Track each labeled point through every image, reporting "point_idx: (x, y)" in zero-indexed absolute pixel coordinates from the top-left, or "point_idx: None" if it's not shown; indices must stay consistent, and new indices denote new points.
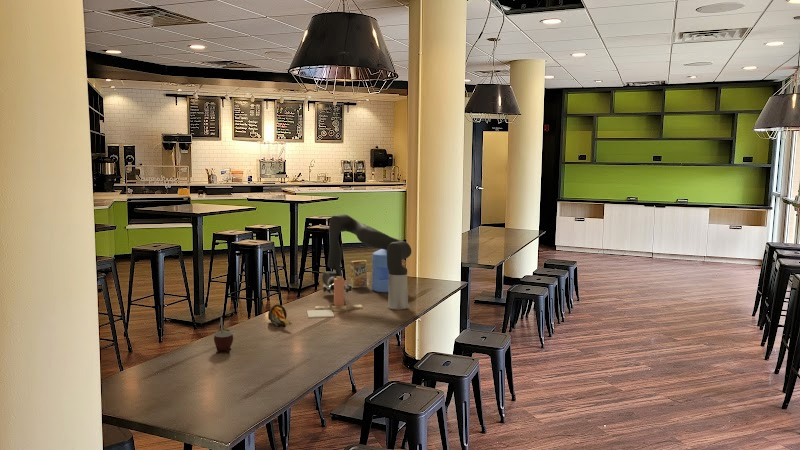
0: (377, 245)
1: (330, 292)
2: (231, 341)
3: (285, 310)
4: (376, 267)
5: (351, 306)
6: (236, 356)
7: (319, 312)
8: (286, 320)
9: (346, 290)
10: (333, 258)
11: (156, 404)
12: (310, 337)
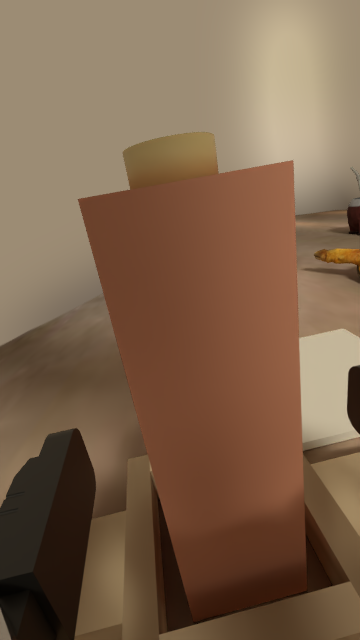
0: None
1: (348, 410)
2: (347, 216)
3: None
4: None
5: (93, 543)
6: (326, 234)
7: (331, 379)
8: (335, 249)
9: (85, 450)
10: None
11: (315, 215)
12: None
